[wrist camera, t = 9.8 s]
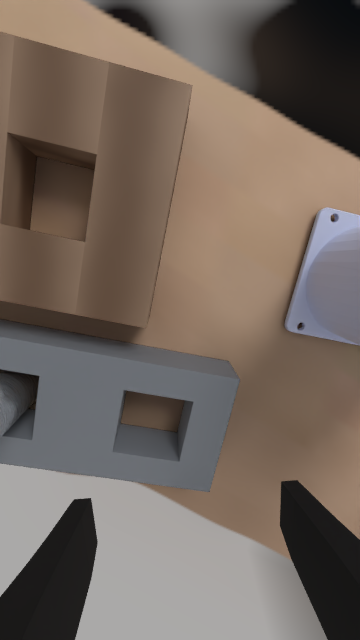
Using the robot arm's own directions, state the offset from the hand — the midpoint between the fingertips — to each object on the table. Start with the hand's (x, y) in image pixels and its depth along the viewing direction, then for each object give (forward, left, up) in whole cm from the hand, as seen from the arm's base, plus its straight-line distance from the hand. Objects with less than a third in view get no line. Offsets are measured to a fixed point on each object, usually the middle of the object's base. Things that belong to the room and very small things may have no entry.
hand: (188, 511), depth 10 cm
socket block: (+9, -11, -9) cm, 17 cm away
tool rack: (+6, +1, -9) cm, 11 cm away
